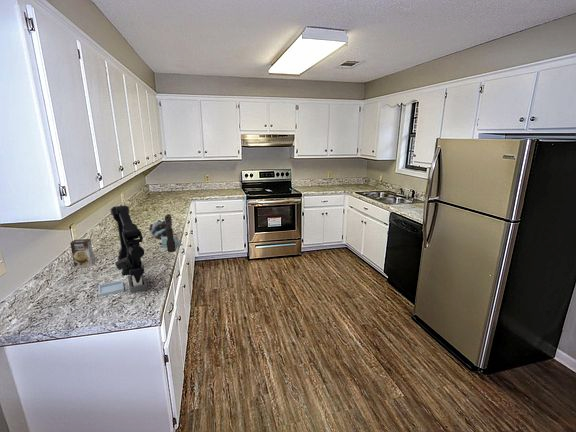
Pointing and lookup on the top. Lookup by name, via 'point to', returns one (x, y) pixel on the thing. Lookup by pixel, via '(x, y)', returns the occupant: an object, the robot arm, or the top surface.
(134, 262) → the robot arm
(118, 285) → the tray
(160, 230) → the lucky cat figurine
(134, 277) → the plug
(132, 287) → the grey boxy piece
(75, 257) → the coffee box
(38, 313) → the top surface
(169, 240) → the dark tall piece
